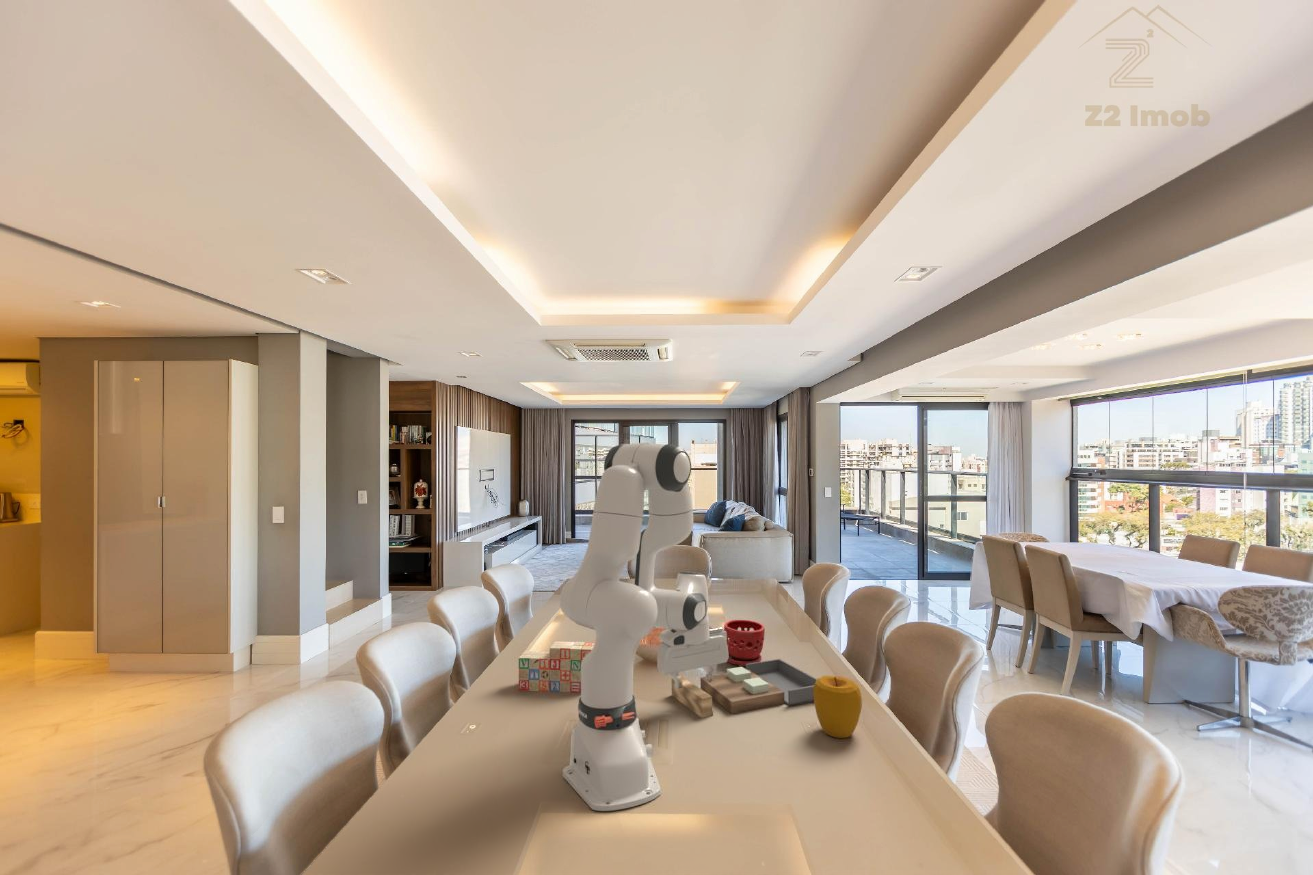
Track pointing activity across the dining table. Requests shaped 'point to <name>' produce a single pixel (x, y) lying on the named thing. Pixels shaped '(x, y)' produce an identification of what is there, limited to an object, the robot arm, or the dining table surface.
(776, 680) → the tray
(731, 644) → the plant pot
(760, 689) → the tile
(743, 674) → the tile
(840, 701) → the apple
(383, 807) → the dining table surface
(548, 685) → the stack of blocks
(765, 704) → the board
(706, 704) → the wooden plank piece
